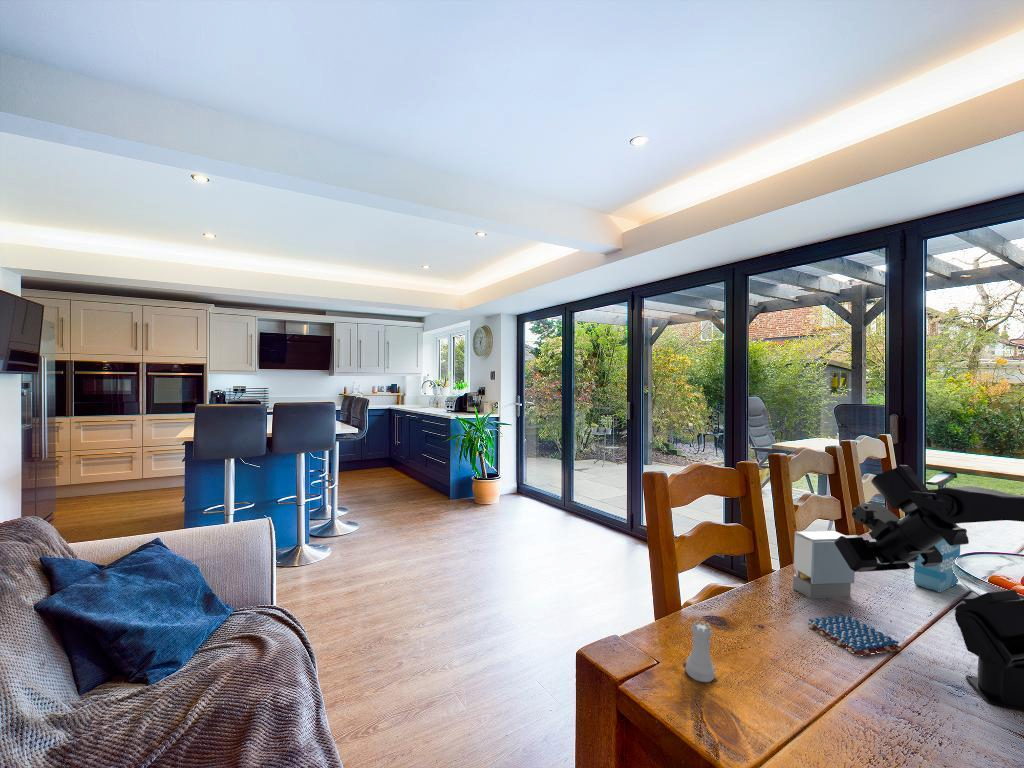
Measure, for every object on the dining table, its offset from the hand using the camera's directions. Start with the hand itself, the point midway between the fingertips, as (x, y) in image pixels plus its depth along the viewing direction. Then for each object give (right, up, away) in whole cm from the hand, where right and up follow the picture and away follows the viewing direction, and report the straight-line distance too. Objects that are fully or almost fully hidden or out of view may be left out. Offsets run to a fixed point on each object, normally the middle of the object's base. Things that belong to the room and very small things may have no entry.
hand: (859, 569), depth 93 cm
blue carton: (+30, -10, +16) cm, 36 cm away
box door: (0, -6, +7) cm, 10 cm away
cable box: (-1, -9, +10) cm, 14 cm away
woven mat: (-7, -10, -8) cm, 15 cm away
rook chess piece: (-41, -9, -20) cm, 46 cm away
